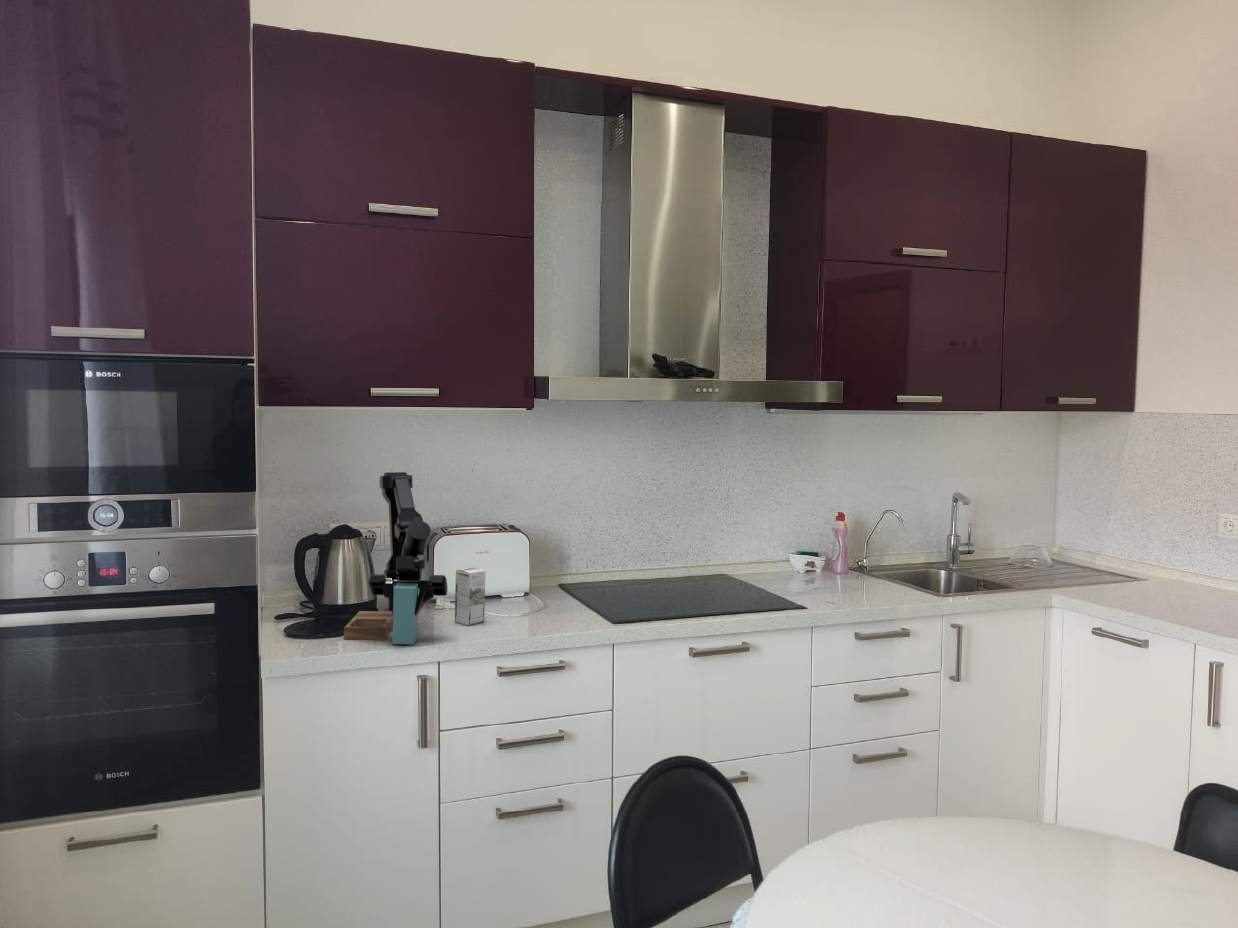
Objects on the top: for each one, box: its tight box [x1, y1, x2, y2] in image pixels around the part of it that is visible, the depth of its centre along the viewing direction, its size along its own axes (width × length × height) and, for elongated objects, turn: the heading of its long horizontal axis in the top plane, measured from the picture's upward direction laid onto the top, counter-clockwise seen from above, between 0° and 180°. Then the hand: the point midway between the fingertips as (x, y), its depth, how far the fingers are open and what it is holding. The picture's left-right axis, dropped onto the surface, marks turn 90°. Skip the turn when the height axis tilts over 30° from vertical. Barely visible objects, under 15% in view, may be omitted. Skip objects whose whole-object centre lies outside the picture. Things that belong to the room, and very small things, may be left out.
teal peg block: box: [392, 583, 419, 645], centre depth 228 cm, size 5×5×14 cm
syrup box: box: [454, 566, 486, 626], centre depth 249 cm, size 6×6×14 cm
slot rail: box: [343, 610, 393, 641], centre depth 239 cm, size 17×10×3 cm, turn 3°
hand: (404, 614), depth 227 cm, fingers closed on teal peg block, 5 cm apart
